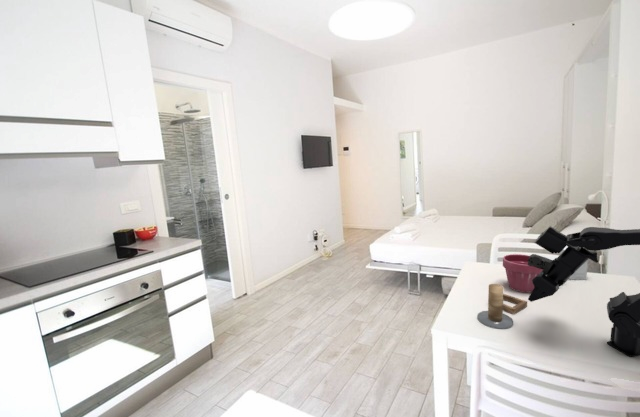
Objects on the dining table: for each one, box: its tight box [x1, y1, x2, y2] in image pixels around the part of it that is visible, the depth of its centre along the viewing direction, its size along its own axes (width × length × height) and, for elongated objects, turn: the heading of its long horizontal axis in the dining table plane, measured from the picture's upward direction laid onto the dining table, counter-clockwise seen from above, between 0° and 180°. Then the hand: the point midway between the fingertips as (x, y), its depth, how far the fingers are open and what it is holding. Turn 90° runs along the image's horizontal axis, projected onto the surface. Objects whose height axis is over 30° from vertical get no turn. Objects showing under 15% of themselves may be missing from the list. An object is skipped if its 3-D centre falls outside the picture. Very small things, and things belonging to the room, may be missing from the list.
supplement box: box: [559, 247, 589, 281], centre depth 134 cm, size 7×7×13 cm
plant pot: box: [502, 253, 543, 293], centre depth 127 cm, size 14×14×13 cm
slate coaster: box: [477, 310, 514, 330], centre depth 106 cm, size 11×11×1 cm
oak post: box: [487, 283, 504, 322], centre depth 105 cm, size 4×4×12 cm
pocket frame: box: [503, 293, 528, 315], centre depth 115 cm, size 9×9×2 cm
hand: (533, 296), depth 100 cm, fingers open, 9 cm apart
